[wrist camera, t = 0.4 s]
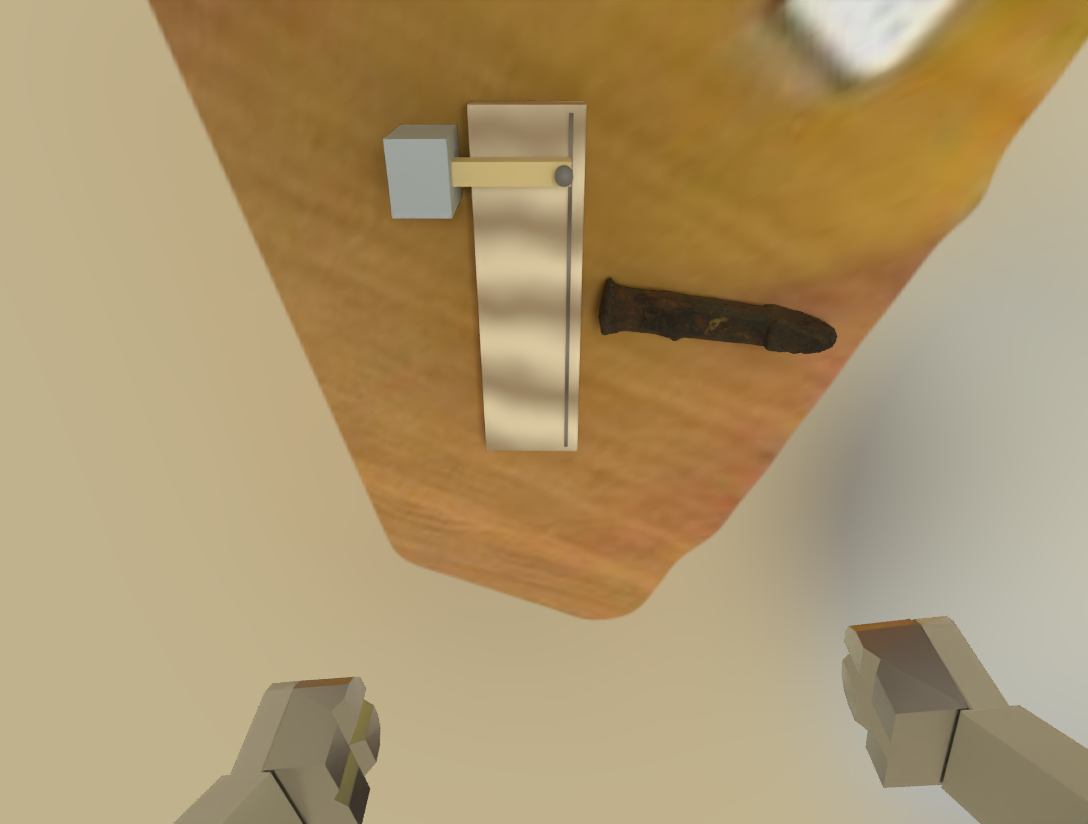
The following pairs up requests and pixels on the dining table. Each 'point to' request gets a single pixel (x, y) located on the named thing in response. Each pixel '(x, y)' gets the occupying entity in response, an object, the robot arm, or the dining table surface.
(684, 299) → the rusty railroad spike
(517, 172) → the grey mallet
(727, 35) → the dining table surface
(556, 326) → the board
